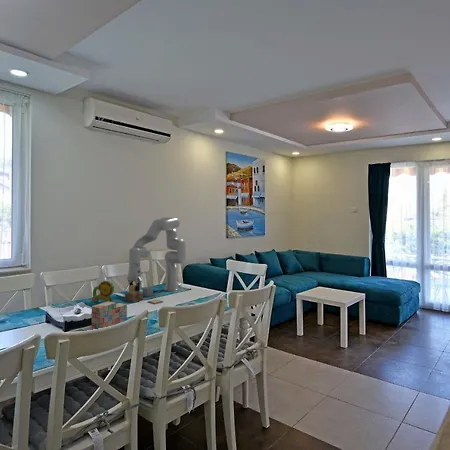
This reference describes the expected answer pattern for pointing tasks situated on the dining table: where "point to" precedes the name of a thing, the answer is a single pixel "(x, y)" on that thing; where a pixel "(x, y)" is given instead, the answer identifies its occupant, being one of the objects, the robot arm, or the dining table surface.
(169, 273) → the robot arm
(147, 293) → the grey cube
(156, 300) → the mat
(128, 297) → the walnut block
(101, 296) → the toy lion
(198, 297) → the dining table surface
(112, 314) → the stack of blocks
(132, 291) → the honey cube
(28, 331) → the dining table surface
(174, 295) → the dining table surface
